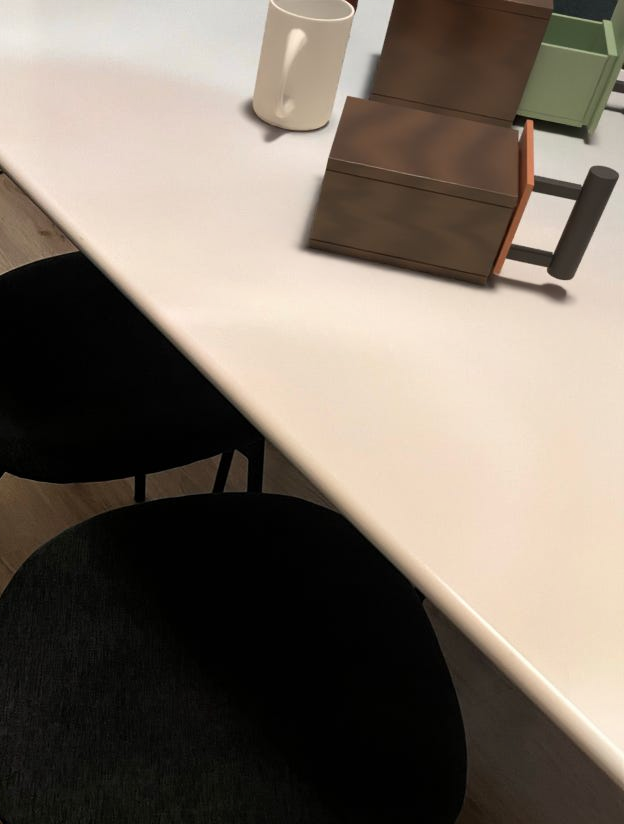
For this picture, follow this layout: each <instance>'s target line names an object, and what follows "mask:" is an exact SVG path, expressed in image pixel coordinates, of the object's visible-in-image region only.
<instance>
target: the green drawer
mask: <svg viewBox="0 0 624 824" xmlns="http://www.w3.org/2000/svg"><path fill="white" fill-rule="evenodd" d="M623 65H624V0H617V3H616V6H615V7H614V10H613V13H612V15H611V18H610V20H608V19H602V21H596V20H592V19H586V18H580V17H576V16H570V15H565V14H561V13H556V12H552V15H551V18H550V21H549V24H548V26H547V29H546V32H545V35H544V37H543V40H542V43H541V46H540V49H539V51H538V54H537V57H536V60H535V63H534V65H533V68H532V71H531V74H530V77H529V79H528V82H527V85H526V88H525V90H524V93H523V96H522V99H521V102H520V104H519V107H518V110H517V113H516V115H518V116H522V117H526V118H532V119H538V120H542V121H547V122H553V123H558V124H562V125H567V126H572V127H577V128H582V127H583V126H587V132H588V134H589V135H590V134H591V135H594V134H595V132H596V130H597V128H598V125H599V122H600V120H601V118H602V115H603V114H604V110H605V108H606V106H607V103H608V101H609V98H610V97H611V95H612V92H613V93H619V94H623V95H624V80H619V79H618V77H619V75H620V72H621V70H622V68H623Z"/></svg>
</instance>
